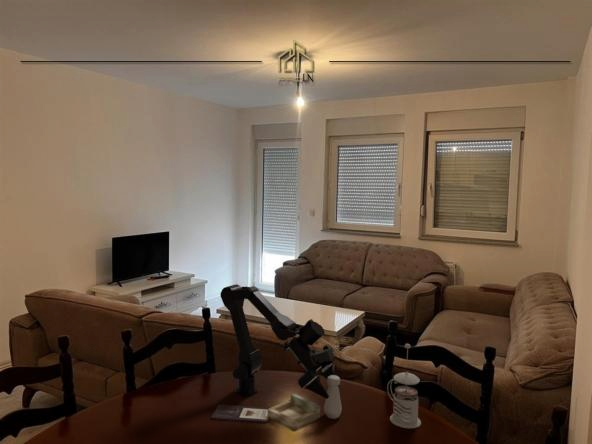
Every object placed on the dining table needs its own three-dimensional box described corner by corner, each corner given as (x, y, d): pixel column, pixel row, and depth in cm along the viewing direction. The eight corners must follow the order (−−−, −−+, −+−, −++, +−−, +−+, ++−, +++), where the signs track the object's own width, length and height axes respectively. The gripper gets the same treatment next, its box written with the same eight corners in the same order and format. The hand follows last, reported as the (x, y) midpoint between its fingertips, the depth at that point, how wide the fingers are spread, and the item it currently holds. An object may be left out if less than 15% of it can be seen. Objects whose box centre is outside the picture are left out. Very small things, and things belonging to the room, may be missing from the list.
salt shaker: (329, 421, 136) (330, 381, 135) (320, 413, 141) (321, 375, 140) (345, 417, 138) (346, 378, 138) (335, 410, 144) (336, 372, 143)
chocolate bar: (218, 404, 145) (271, 407, 143) (218, 407, 145) (271, 410, 143) (210, 417, 136) (266, 421, 134) (210, 420, 136) (266, 424, 134)
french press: (409, 431, 131) (412, 351, 130) (379, 417, 139) (381, 341, 138) (427, 421, 137) (429, 344, 136) (396, 407, 146) (399, 335, 145)
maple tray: (267, 416, 138) (267, 404, 138) (293, 404, 147) (294, 393, 146) (293, 431, 130) (293, 418, 130) (319, 417, 138) (320, 405, 138)
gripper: (306, 347, 133) (339, 389, 128) (330, 331, 149) (360, 368, 145) (284, 367, 137) (315, 409, 132) (310, 350, 153) (338, 386, 149)
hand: (333, 392), depth 139 cm, fingers open, 9 cm apart
